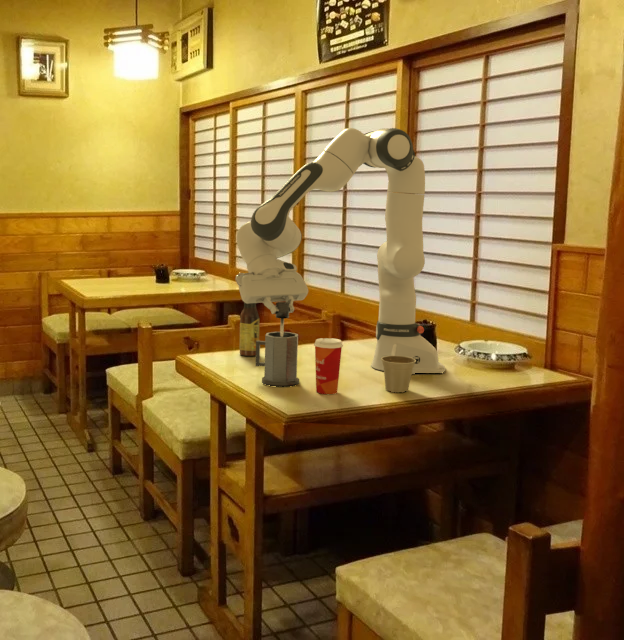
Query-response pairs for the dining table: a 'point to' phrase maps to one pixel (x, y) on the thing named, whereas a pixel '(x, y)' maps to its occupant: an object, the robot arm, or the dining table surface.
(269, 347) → the press pot
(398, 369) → the flower pot
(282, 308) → the plunger
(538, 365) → the dining table surface
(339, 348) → the paper cup
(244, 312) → the sauce bottle
